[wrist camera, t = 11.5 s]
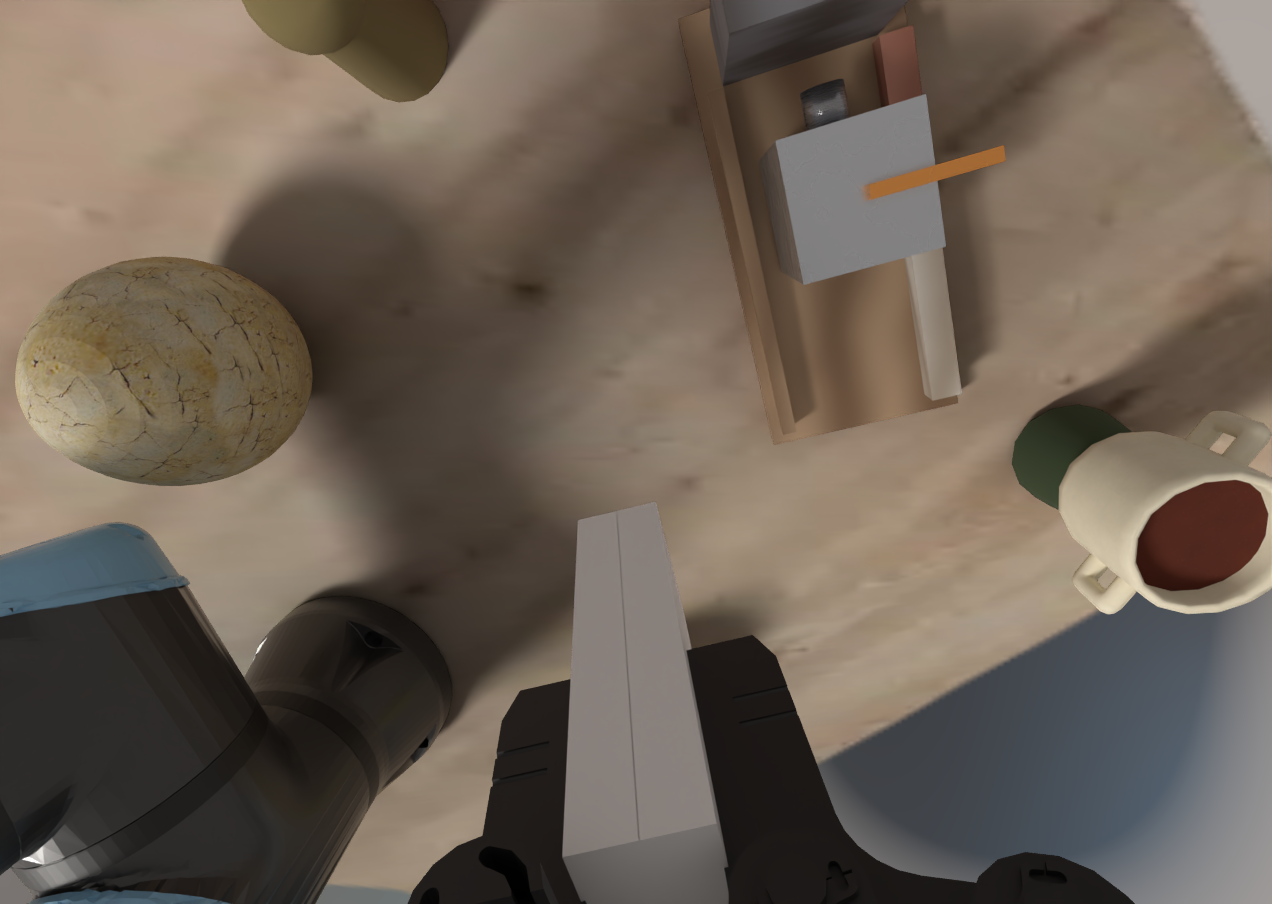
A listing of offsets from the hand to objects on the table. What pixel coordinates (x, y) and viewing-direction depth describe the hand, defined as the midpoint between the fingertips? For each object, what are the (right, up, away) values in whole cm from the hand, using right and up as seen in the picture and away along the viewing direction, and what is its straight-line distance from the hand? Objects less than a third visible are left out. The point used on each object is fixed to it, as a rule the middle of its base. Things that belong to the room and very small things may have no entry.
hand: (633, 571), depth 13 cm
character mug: (+27, +3, +28) cm, 39 cm away
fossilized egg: (-25, +9, +31) cm, 41 cm away
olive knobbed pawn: (-13, +26, +25) cm, 38 cm away
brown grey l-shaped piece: (+11, +16, +25) cm, 31 cm away
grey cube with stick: (+11, +17, +23) cm, 31 cm away
